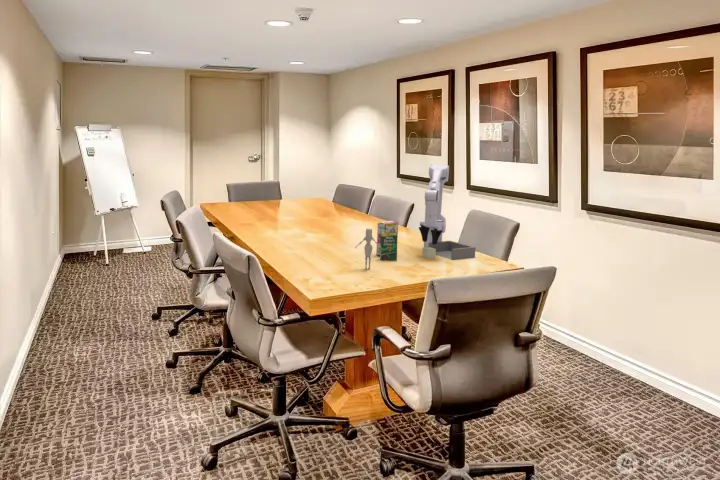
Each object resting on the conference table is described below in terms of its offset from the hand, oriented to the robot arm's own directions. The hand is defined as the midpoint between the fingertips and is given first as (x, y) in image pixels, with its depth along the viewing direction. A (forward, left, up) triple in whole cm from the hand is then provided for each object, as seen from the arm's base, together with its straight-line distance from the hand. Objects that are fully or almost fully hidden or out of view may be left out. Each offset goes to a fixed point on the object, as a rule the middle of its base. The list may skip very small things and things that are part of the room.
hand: (429, 242), depth 269 cm
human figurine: (+7, -39, -8) cm, 40 cm away
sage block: (0, 0, -8) cm, 8 cm away
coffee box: (-5, -20, -8) cm, 22 cm away
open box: (0, +14, -8) cm, 16 cm away
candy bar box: (-15, -14, -8) cm, 22 cm away
